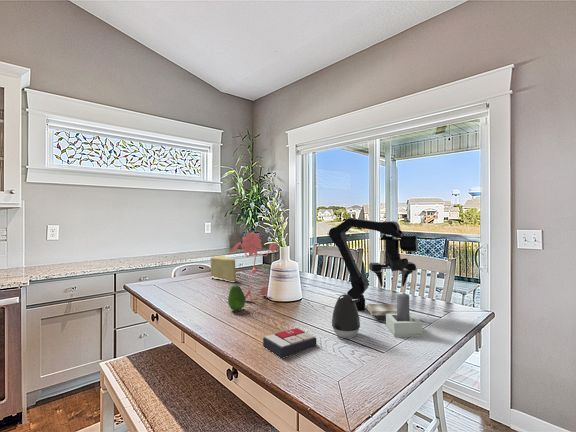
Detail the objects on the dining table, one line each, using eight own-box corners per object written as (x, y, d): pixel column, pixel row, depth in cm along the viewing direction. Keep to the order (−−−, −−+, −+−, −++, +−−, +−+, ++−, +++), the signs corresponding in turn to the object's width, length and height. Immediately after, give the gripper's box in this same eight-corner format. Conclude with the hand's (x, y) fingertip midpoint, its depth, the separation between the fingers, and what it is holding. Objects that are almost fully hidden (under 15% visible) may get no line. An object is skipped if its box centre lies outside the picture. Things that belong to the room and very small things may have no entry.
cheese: (241, 281, 204) (241, 258, 203) (228, 284, 197) (227, 260, 196) (223, 276, 220) (222, 254, 219) (210, 279, 213) (209, 256, 213)
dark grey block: (396, 329, 119) (396, 296, 119) (397, 325, 123) (397, 293, 123) (409, 331, 118) (409, 297, 117) (409, 327, 122) (409, 294, 121)
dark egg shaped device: (354, 343, 110) (354, 300, 110) (327, 337, 116) (326, 296, 115) (364, 333, 119) (364, 292, 119) (338, 328, 125) (337, 289, 124)
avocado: (224, 311, 148) (224, 285, 147) (238, 306, 153) (237, 281, 153) (235, 314, 142) (234, 288, 142) (249, 310, 148) (248, 284, 148)
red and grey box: (317, 335, 110) (281, 346, 101) (316, 348, 110) (281, 359, 101) (297, 326, 119) (262, 335, 110) (296, 338, 119) (262, 347, 110)
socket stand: (394, 336, 115) (394, 323, 115) (386, 326, 125) (385, 313, 125) (422, 336, 115) (422, 322, 115) (411, 325, 125) (411, 313, 125)
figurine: (281, 295, 170) (279, 230, 169) (238, 306, 154) (235, 233, 153) (265, 290, 182) (262, 229, 181) (223, 300, 166) (221, 232, 165)
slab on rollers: (372, 321, 131) (372, 311, 131) (366, 313, 140) (366, 304, 140) (406, 320, 131) (406, 310, 131) (399, 313, 140) (399, 303, 140)
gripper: (375, 253, 130) (375, 291, 131) (421, 252, 130) (421, 291, 131) (368, 250, 142) (369, 285, 142) (410, 249, 141) (411, 284, 142)
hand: (392, 286), depth 139 cm, fingers open, 9 cm apart
